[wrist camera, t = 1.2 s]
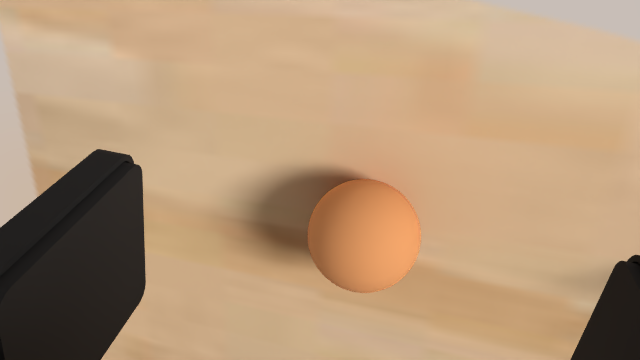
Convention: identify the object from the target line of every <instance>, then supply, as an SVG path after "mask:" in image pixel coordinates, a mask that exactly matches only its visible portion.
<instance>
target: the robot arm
mask: <svg viewBox="0 0 640 360" xmlns="http://www.w3.org/2000/svg"><path fill="white" fill-rule="evenodd" d="M145 282H146V281H145V248H144V215H143V182H142V169H141V167H140V166H139V165H136V164H134V161H133V159H132V157H131V156H130V155H126V154H121V153H116V152H111V151H106V150H101V149H97V150H95V151H94V152H92V153H91V154H90V155H89V156H88V157H86V158H85V159H84V160H83V161H81V162H80V163H79V164H78V165H77V166H75V167H74V168H73V169H72V170H70V171H69V172H68V173H67V174H66V175H64V176H63V177H62V178H61V179H59V180H58V181H57V182H56V183H55V184H53V185H52V186H51V187H50V188H48V189H47V190H46V191H45V192H44V193H42V194H41V195H40V196H39V197H37V198H36V199H35V200H34V201H33V202H31V203H30V204H29V205H28V206H26V207H25V208H24V209H23V210H21V211H20V212H19V213H18V214H17V215H15V216H14V217H13V218H12V219H10V220H9V221H8V222H7V223H6V224H4V225H3V226H2V227H1V228H0V360H101V358H102V357H103V355H104V354H105V353H106V351H107V350H108V348H109V347H110V345H111V344H112V342H113V341H114V339H115V338H116V336H117V335H118V333H119V332H120V331H121V329H122V328H123V326H124V325H125V323H126V322H127V320H128V319H129V317H130V316H131V314H132V313H133V312H134V310H135V309H136V307H137V306H138V304H139V303H140V301H141V299H142V296H143V294H144V290H145ZM571 360H640V255H634V256H632V257H631V258H629V259H628V261H627V262H626V261H620V262H618V263H617V264H616V266H615V267H614V269H613V271H612V273H611V275H610V277H609V280H608V282H607V284H606V286H605V288H604V290H603V292H602V294H601V296H600V299H599V301H598V303H597V305H596V307H595V309H594V311H593V313H592V316H591V318H590V320H589V322H588V324H587V326H586V328H585V330H584V332H583V335H582V337H581V339H580V341H579V343H578V345H577V347H576V349H575V351H574V354H573V356H572V358H571Z"/></svg>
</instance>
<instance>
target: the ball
mask: <svg viewBox="0 0 640 360" xmlns="http://www.w3.org/2000/svg"><path fill="white" fill-rule="evenodd" d="M420 243H421V230H420V224H419V220H418V217H417V214H416V212H415V210H414V208H413V207H412V205H411V204H410V202H409V201H408V200H407V199H406V197H405V196H404V195H403V194H402V193H400V192H399V191H398V190H396V189H395V188H393V187H392V186H390V185H388V184H385V183H383V182H380V181H376V180H370V179H359V180H352V181H348V182H345V183H342V184H340V185H338V186H336V187H334V188H333V189H331V190H330V191H329V192H327V193H326V194H325V195H324V196H323V197H322V198H321V200H320V201H319V202H318V203H317V205H316V207H315V208H314V210H313V212H312V215H311V217H310V221H309V226H308V246H309V250H310V254H311V256H312V259H313V261H314V263H315V264H316V266H317V268H318V269H319V270H320V272H321V273H322V274H323V275H324V276H325V277H326V278H327V279H328V280H330V281H331V282H332V283H334V284H335V285H337V286H339V287H341V288H343V289H346V290H349V291H353V292H360V293H370V292H376V291H380V290H383V289H386V288H388V287H390V286H392V285H394V284H395V283H397V282H398V281H399V280H401V279H402V278H403V277H404V276H405V275H406V274H407V273H408V271H409V270H410V269H411V267H412V266H413V264H414V262H415V261H416V258H417V255H418V253H419V248H420Z"/></svg>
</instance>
